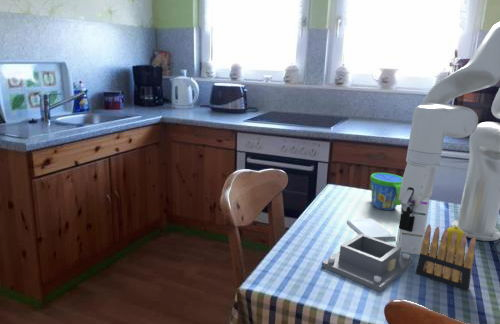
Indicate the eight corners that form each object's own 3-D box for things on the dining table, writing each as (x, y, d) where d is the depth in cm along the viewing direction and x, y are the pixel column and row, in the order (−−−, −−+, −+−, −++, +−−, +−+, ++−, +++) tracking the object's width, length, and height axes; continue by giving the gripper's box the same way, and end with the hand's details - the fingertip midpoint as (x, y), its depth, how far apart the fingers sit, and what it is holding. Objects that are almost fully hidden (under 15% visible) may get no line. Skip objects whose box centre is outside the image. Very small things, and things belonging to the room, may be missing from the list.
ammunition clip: (415, 273, 93) (423, 224, 90) (417, 270, 94) (426, 221, 91) (467, 291, 87) (478, 239, 84) (469, 288, 88) (480, 236, 85)
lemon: (463, 255, 103) (469, 225, 101) (461, 264, 99) (468, 233, 97) (439, 249, 106) (445, 220, 104) (436, 257, 101) (442, 227, 99)
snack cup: (410, 216, 128) (415, 184, 125) (378, 215, 126) (383, 184, 124) (387, 198, 143) (392, 170, 140) (359, 198, 141) (362, 170, 139)
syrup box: (421, 255, 102) (431, 200, 98) (396, 251, 103) (405, 196, 99) (419, 246, 107) (428, 193, 103) (395, 242, 108) (403, 189, 105)
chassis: (359, 243, 106) (361, 226, 105) (413, 263, 97) (416, 245, 96) (321, 266, 93) (323, 247, 92) (379, 292, 84) (383, 271, 83)
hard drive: (396, 236, 110) (372, 218, 121) (368, 237, 108) (347, 219, 119) (395, 242, 110) (372, 223, 122) (367, 243, 108) (346, 224, 120)
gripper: (420, 149, 108) (410, 213, 112) (393, 159, 95) (382, 230, 99) (451, 155, 103) (439, 221, 107) (426, 166, 90) (413, 240, 95)
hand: (412, 225), depth 103 cm, fingers closed on syrup box, 7 cm apart
